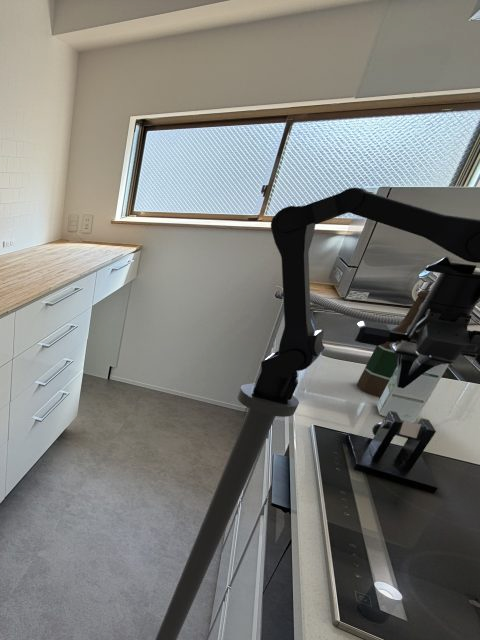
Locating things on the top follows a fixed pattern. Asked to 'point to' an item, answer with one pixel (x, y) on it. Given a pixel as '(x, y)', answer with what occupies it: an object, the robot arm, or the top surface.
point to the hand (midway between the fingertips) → (399, 387)
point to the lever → (403, 429)
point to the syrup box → (409, 394)
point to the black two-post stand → (394, 454)
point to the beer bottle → (387, 356)
